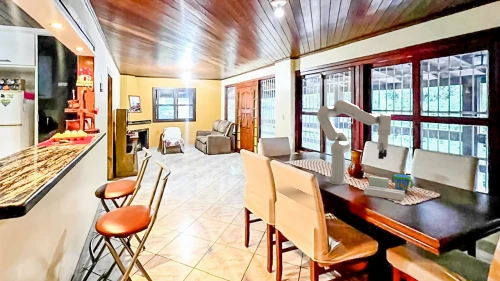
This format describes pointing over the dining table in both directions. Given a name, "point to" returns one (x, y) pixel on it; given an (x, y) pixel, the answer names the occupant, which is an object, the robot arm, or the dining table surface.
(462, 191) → the dining table surface
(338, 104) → the robot arm
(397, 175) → the snack cup
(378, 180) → the door panel
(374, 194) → the track board
